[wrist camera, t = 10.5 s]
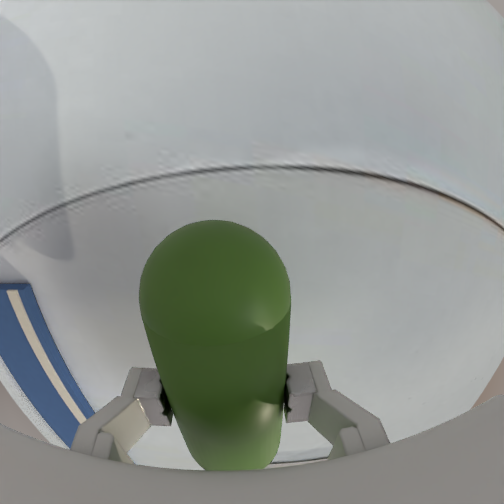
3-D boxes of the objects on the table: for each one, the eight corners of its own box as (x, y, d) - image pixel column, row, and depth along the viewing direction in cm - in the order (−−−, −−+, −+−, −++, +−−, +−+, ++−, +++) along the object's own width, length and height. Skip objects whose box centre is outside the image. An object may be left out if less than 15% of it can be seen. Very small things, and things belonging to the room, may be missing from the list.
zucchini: (139, 212, 9) (105, 267, 5) (268, 199, 10) (323, 244, 6) (195, 439, 14) (204, 501, 10) (266, 429, 15) (285, 488, 11)
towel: (-26, 283, 13) (-33, 289, 12) (30, 283, 13) (21, 291, 12) (94, 466, 23) (92, 472, 22) (144, 476, 23) (143, 482, 22)
